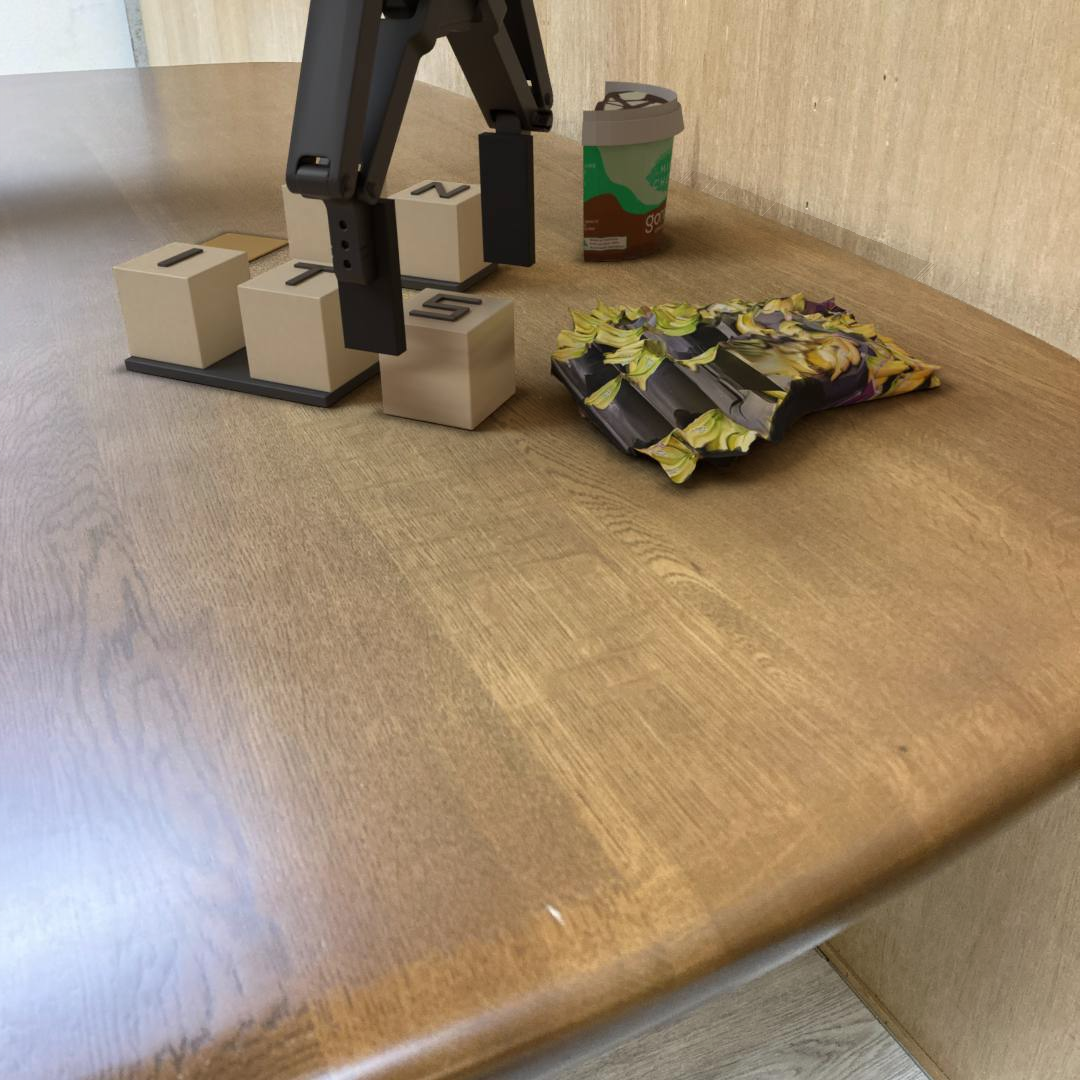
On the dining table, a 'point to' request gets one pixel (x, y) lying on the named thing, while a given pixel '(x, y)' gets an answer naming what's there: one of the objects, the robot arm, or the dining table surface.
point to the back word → (422, 226)
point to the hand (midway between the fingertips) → (449, 302)
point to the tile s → (451, 359)
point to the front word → (239, 324)
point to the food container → (627, 169)
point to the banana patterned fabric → (723, 373)
